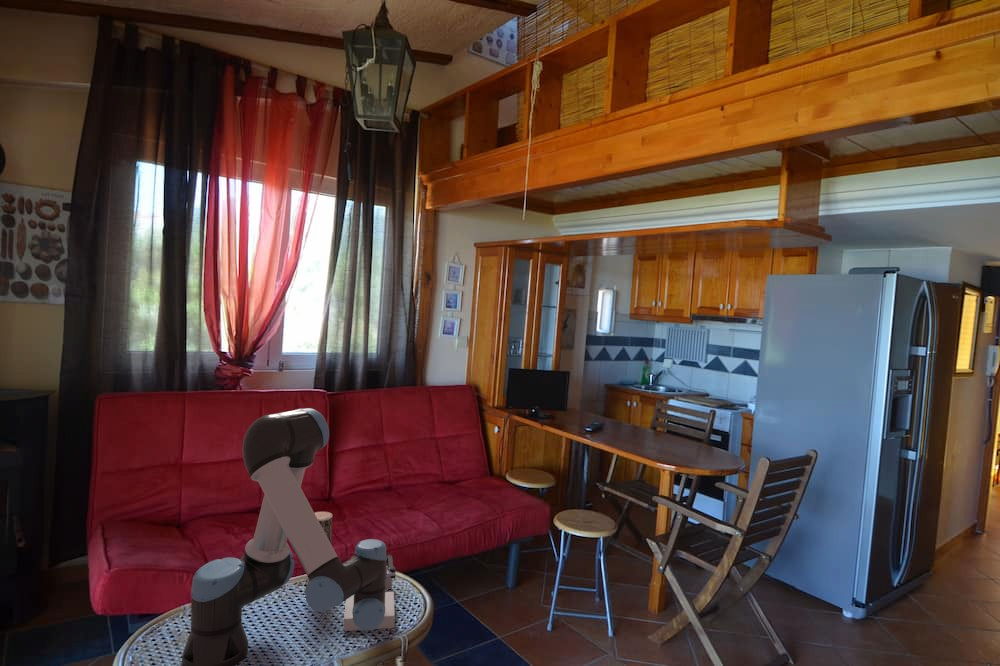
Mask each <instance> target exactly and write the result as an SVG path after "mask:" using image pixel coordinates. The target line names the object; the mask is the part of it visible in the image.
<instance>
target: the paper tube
mask: <svg viewBox="0 0 1000 666" xmlns="http://www.w3.org/2000/svg"><path fill="white" fill-rule="evenodd" d="M314 513H315V515H316V517H317V519H318V521H319V523H320V525H321V526H322V528H323V530H324V532H325V534H326V536H327V538H328V539H329V541H330V543H331V544H332V540H333V538H332V535H333V513H331V512H329V511H316V512H314ZM309 582H310V580H309V578H308V577H307V584H308V583H309Z"/></svg>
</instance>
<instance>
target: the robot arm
mask: <svg viewBox="0 0 1000 666" xmlns="http://www.w3.org/2000/svg"><path fill="white" fill-rule="evenodd" d="M329 437H330V428H329V426H328V423H327V421H326V418H325V417H324V415H323V413H321V412H319V411H318V410H316V409H314V408H311V407H310V408H309V407H308V408H297V409H294V410H289V411H282V412H277V413H270V414H265V415H263V416H261V417H258V418H257V419H255V420H254V421H253V422H252V423H251V424H250V426H248V428H247V430H246V432H245V434H244V436H243V441H242V446H241V447H242V449H241V450H242V459H243V464H244V466H245V469H246V473H248V475H249V477H250V479H251V480H252V481H254V482H258V485H259V486H260V488H261V490H262V492H263V494H264V496H263V499H262V503H261V508H260V511H259V516H258V518H257V523H256V527H255V531H254V535H253V538H251V539H250V540H248V542H246V544H245V547H244V551H243V555H242V557H241V558H236V557H231V556H230V557H223V558H221V559H219V558H217V559H213V560H211V561H209V562H207V563H205V564H204V565H202V566H201V567H199V569H197V570H196V572H195V573H194V575H193V577H192V581H191V582H192V583H191V589H190V595H191V602H190V604H191V605H190V606H191V609H190V618H191V619H190V631H189V632H190V633H189V635H188V637H187V641H186V642H185V646H184V649H183V652H182V659H181V665H182V666H238V665H239V664H240V663H242V662H243V661H244V660H245V658H246V657H247V656H248V653H249V639H248V636H247V633H246V631H245V628H244V626H243V623H242V617H243V616H242V614H243V607H246V606H247V605H249V604H251V603H253V602H255V601H258V600H259V599H261V598H263V597H265V596H267V595H270V594H271V593H274V592H276V591H277V590H279V589H280V588H282V587H283V586H285V585H287V583H288V582H289V580H290V579H291V578H292V576H293V573H294V571H295V570H294V569H295V560H294V559H293V557H294V554H295V555H296V557H297V558H298V560H299V562H300V564H301V566H302V568H303V570H304V572H305V573H306V575H307V579H308V578H309V580H310V582H309V583H308V582H307V584H306V586H305V588H304V589H305V590H304V594H305V597H306V598H305V601H306V603H307V605H308V607H310V609H311V610H313V611H315V612H317V613H321V614H322V613H326V612H328V611H329V610H332V609H334V608H335V607H338V606H340V605H341V604H342V603H343V602H346V599H348V598H350V597H351V596H353V595H354V605H353V612H352V614H353V621H354V623H355V625H356V626H357V627H358V628H360V629H362V630H361V631H373V630H376V629H375V628H377V627H378V626H379V625H380V624H381V623H382V621H383V619H384V614H385V592H386V591H385V581H386V578H387V577H391V578H392V579H395V578H396V571H397V570H396V567H395V566H394V560H393V555H392V554H388V555H387V544H386V543H385V542H384V541H382V540H380V539H375V538H374V539H373V538H369V539H364V540H361V541H358V542H357V544H356V545H355V549H354V555H352V556H351V557H350V558H349V559H347V560H346V561H344V562H342V561H341V559H340V558H339V556H338V554H337V553H336V550H335V549H334V547H333V545H332V542H331V543H330V541H329V539H328V538H327V536H326V534H325V532H324V530H323V528H322V526H321V525H320V523H319V521H318V519H317V517H316V515H315V513H316V512H314V510H313V508H312V506H311V504H310V502H309V500H308V498H307V497H306V495H305V493H304V491H303V489H302V484H303V481H304V480H303V479H304V476H305V472H306V469H308V468H310V467H312V465H313V464H314V461H315V457H316V453H317V451H320V450H322V449H323V448H324V447H326V446H327V444H328V441H329V440H330V438H329ZM287 541H289V543H290V546H291V547H292V549H293V551H294V552H295V553H294V554H293V552H292V550H291V547H290V546H289V544H288V542H287ZM386 566H388V570H387V572H386Z"/></svg>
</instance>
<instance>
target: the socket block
mask: <svg viewBox="0 0 1000 666" xmlns="http://www.w3.org/2000/svg"><path fill="white" fill-rule="evenodd" d="M394 592H395V591H385V614H384V619H383V621H382V623H381V624H380V625H379V626H378V627H377V628H375V629H374V630H381V629H394V628H395V617H396V616H395V615H396V614H395V593H394ZM353 605H354V595H353V596H351V597H350V598H348V599H346V600H345V606H344V615H343V628H342V629H343V632H349V631H352V632H353V631H363V630H362V629H360V628H358V627H357V626H356V625H355V623H354V621H353V614H352V612H353Z"/></svg>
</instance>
